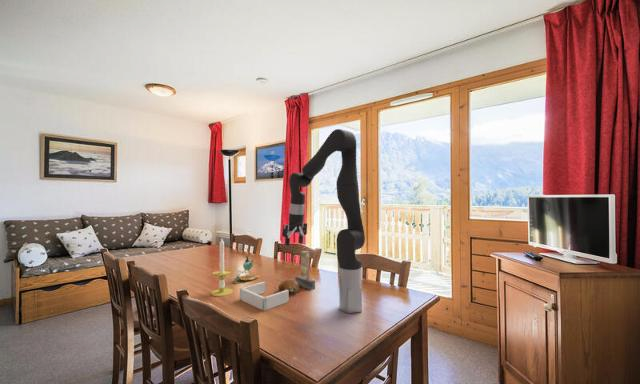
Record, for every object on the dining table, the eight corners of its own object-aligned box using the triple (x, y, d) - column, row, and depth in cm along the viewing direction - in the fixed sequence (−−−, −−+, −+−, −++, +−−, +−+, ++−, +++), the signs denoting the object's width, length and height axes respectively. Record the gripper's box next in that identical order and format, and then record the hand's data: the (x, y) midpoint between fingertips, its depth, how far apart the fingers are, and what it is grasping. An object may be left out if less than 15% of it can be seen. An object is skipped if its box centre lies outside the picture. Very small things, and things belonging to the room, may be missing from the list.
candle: (225, 297, 129) (225, 239, 129) (206, 295, 131) (206, 238, 131) (236, 289, 139) (236, 235, 139) (218, 288, 141) (218, 235, 141)
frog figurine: (226, 281, 153) (229, 254, 155) (255, 278, 165) (257, 252, 167) (234, 285, 146) (237, 256, 148) (264, 281, 158) (266, 255, 160)
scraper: (299, 283, 149) (299, 249, 149) (315, 288, 141) (315, 252, 141) (295, 284, 147) (294, 250, 147) (311, 289, 139) (311, 253, 139)
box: (263, 291, 136) (263, 281, 136) (288, 301, 124) (288, 290, 124) (239, 299, 127) (239, 288, 127) (264, 310, 114) (264, 298, 114)
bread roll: (299, 297, 139) (301, 280, 142) (296, 295, 129) (297, 277, 133) (280, 296, 140) (281, 280, 143) (275, 294, 130) (277, 276, 134)
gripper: (290, 214, 132) (287, 248, 134) (312, 213, 142) (309, 244, 144) (280, 211, 137) (278, 244, 139) (302, 210, 148) (299, 240, 149)
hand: (293, 244), depth 141 cm, fingers open, 8 cm apart
